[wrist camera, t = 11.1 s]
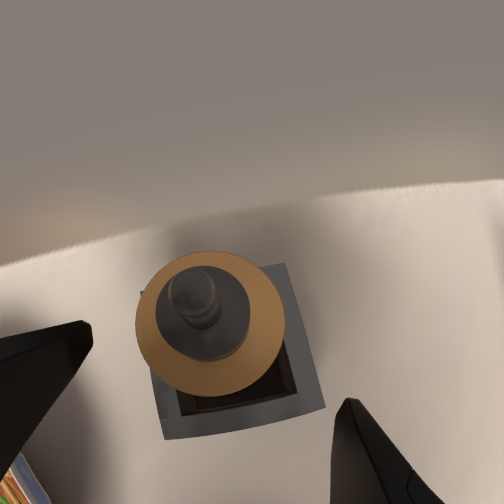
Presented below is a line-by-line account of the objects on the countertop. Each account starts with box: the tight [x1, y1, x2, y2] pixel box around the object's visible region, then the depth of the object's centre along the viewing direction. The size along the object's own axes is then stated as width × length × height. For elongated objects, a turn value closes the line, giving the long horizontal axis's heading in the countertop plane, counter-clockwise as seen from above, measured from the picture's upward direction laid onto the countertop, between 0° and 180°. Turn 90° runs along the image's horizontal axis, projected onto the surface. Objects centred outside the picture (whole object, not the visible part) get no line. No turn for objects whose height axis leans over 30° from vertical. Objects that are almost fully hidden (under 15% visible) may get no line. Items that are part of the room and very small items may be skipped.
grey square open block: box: [140, 263, 326, 440], centre depth 16 cm, size 8×8×4 cm
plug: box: [135, 251, 285, 397], centre depth 11 cm, size 4×4×15 cm
